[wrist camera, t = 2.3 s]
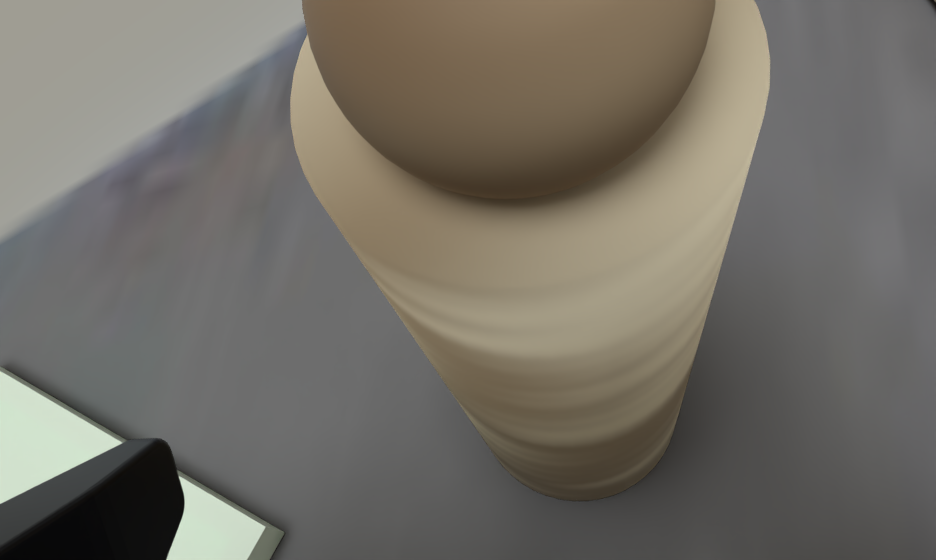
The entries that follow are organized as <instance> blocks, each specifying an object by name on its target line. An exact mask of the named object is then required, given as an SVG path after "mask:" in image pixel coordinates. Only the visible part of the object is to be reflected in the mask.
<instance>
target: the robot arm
mask: <svg viewBox="0 0 936 560" xmlns="http://www.w3.org/2000/svg"><path fill="white" fill-rule="evenodd" d="M184 507H185V499H184V492H183V489H182V486H181V482H180V479H179V475H178V472H177V468H176V465H175V461H174V458H173V454H172V451H171V449H170V446H169V445H168V443H167V442H166V441H164V440H162V439H159V438H151V439H132V440H128V441H126V442H124V443H122V444H120V445H118V446H116V447H114V448H112V449H110V450H108V451H106V452H104V453H102V454H100V455H98V456H96V457H94V458H92V459H90V460H88V461H85V462H83V463H81V464H79V465H77V466H75V467H73V468H71V469H69V470H67V471H65V472H63V473H61V474H59V475H57V476H55V477H53V478H51V479H49V480H47V481H45V482H43V483H41V484H39V485H37V486H35V487H33V488H31V489H29V490H27V491H25V492H23V493H21V494H19V495H17V496H15V497H13V498H11V499H9V500H7V501H5V502H3V503H1V504H0V560H166V559H167V557H168V554H169V551H170V549H171V546H172V543H173V541H174V538H175V536H176V533H177V530H178V528H179V525H180V522H181V520H182V517H183V513H184Z"/></svg>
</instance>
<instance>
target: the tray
mask: <svg viewBox="0 0 936 560" xmlns="http://www.w3.org/2000/svg"><path fill="white" fill-rule="evenodd" d="M126 441H127V440H126V439H124V438H122V437H120V436H119V435H117V434H115V433H114V432H112V431H110V430H109V429H107V428H105V427H103V426H102V425H100V424H98V423H97V422H95V421H93V420H91V419H90V418H88V417H86V416H85V415H83V414H81V413H79V412H78V411H76V410H74V409H73V408H71V407H69V406H67V405H66V404H64V403H62V402H61V401H59V400H57V399H56V398H54V397H52V396H50V395H49V394H47V393H45V392H44V391H42V390H40V389H38V388H37V387H35V386H33V385H32V384H30V383H28V382H26V381H25V380H23V379H21V378H20V377H18V376H16V375H14V374H13V373H11V372H9V371H8V370H6V369H4V368H3V367H0V504H1V503H3V502H5V501H7V500H9V499H11V498H13V497H15V496H17V495H19V494H21V493H23V492H25V491H27V490H29V489H31V488H33V487H35V486H37V485H39V484H41V483H43V482H45V481H47V480H49V479H51V478H53V477H55V476H57V475H59V474H61V473H63V472H65V471H67V470H69V469H71V468H73V467H75V466H77V465H79V464H81V463H83V462H85V461H88V460H90V459H92V458H94V457H96V456H98V455H100V454H102V453H104V452H106V451H108V450H110V449H112V448H114V447H116V446H118V445H120V444H122V443H124V442H126ZM177 472H178V475H179V479H180V482H181V486H182V489H183V492H184V499H185V507H184V513H183V517H182V520H181V522H180V525H179V528H178V530H177V533H176V536H175V538H174V541H173V543H172V546H171V549H170V551H169V554H168V557H167V559H166V560H270V558H271V557H272V555H273V553H274V551H275V549H276V548H277V546H278V544H279V542H280V540H281V539H282V537H283V535H284V533H285V532H283V531H281V530H279V529H278V528H276V527H274V526H273V525H271V524H269V523H268V522H266V521H264V520H262V519H261V518H259V517H257V516H256V515H254V514H252V513H250V512H249V511H247V510H245V509H244V508H242V507H240V506H238V505H237V504H235V503H233V502H232V501H230V500H228V499H226V498H225V497H223V496H221V495H220V494H218V493H216V492H215V491H213V490H211V489H209V488H208V487H206V486H204V485H203V484H201V483H199V482H197V481H196V480H194V479H192V478H191V477H189V476H187V475H185V474H184V473H182V472H180V471H179V470H177Z"/></svg>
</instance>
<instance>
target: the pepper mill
mask: <svg viewBox="0 0 936 560" xmlns="http://www.w3.org/2000/svg"><path fill="white" fill-rule="evenodd" d="M302 6H303V14H304V19H305V24H306V29H307V37H306V39H305V41H304V43H303V46H302V48H301V51H300V54H299V58H298V61H297V65H296V68H295V72H294V76H293V84H292V91H291V127H292V133H293V138H294V144H295V149H296V152H297V155H298V158H299V161H300V164H301V167H302V169H303V172H304V174H305V176H306V178H307V180H308V182H309V184H310V185H311V187H312V189H313V191H314V193H315V195H316V196H317V198H318V199H319V201H320V202H321V204H322V205H323V207H324V208H325V209H326V211H327V212H328V214H329V215H330V217H331V218H332V220H333V221H334V223H335V224H336V225H337V227H338V228H339V230H340V231H341V233H342V234H343V236H344V237H345V239H346V240H347V241H348V243H349V244H350V246H351V247H352V249H353V250H354V252H355V253H356V255H357V256H358V257H359V259H360V260H361V262H362V263H363V265H364V266H365V268H366V269H367V271H368V272H369V273H370V275H371V276H372V278H373V279H374V281H375V282H376V284H377V285H378V287H379V288H380V289H381V291H382V292H383V294H384V295H385V297H386V298H387V300H388V301H389V302H390V304H391V305H392V307H393V308H394V310H395V311H396V313H397V314H398V316H399V317H400V318H401V320H402V321H403V323H404V324H405V326H406V327H407V329H408V330H409V332H410V333H411V334H412V336H413V337H414V339H415V340H416V342H417V343H418V345H419V346H420V348H421V349H422V350H423V352H424V353H425V355H426V356H427V358H428V359H429V361H430V362H431V364H432V365H433V366H434V368H435V369H436V371H437V372H438V374H439V375H440V377H441V378H442V380H443V381H444V382H445V384H446V385H447V387H448V388H449V390H450V391H451V393H452V394H453V396H454V397H455V398H456V400H457V401H458V403H459V404H460V406H461V407H462V409H463V410H464V412H465V413H466V414H467V416H468V417H469V419H470V420H471V422H472V423H473V425H474V426H475V428H476V429H477V430H478V432H479V433H480V435H481V436H482V438H483V439H484V441H485V442H486V444H487V445H488V446H489V448H490V449H491V451H492V452H493V454H494V455H495V457H496V458H497V459H498V461H499V462H500V463H501V465H502V466H503V467H504V468H505V469H506V470H507V471H508V472H509V473H510V474H511V475H512V476H513V477H514V478H516V479H517V480H518V481H520V482H521V483H522V484H524V485H525V486H527V487H529V488H531V489H532V490H534V491H536V492H539V493H541V494H544V495H546V496H550V497H553V498H557V499H562V500H569V501H589V500H596V499H602V498H605V497H609V496H612V495H615V494H617V493H620V492H622V491H624V490H626V489H628V488H629V487H631V486H633V485H634V484H636V483H637V482H639V481H640V480H641V479H642V478H644V477H645V476H646V475H647V474H648V473H649V472H650V471H651V470H652V469H653V468H654V467H655V466H656V464H657V463H658V462H659V460H660V459H661V457H662V456H663V455H664V453H665V451H666V449H667V447H668V445H669V443H670V440H671V437H672V434H673V432H674V428H675V425H676V421H677V418H678V414H679V411H680V407H681V404H682V400H683V397H684V393H685V390H686V386H687V383H688V379H689V376H690V372H691V369H692V365H693V362H694V358H695V355H696V351H697V348H698V345H699V341H700V338H701V334H702V331H703V327H704V324H705V320H706V317H707V313H708V310H709V306H710V303H711V299H712V296H713V292H714V289H715V285H716V282H717V278H718V275H719V271H720V268H721V264H722V261H723V257H724V254H725V250H726V247H727V243H728V240H729V236H730V233H731V229H732V226H733V222H734V219H735V215H736V212H737V208H738V205H739V201H740V198H741V194H742V191H743V187H744V184H745V180H746V177H747V173H748V170H749V166H750V163H751V159H752V156H753V152H754V149H755V145H756V142H757V138H758V135H759V131H760V128H761V124H762V121H763V117H764V114H765V108H766V103H767V98H768V92H769V87H770V56H769V49H768V42H767V35H766V31H765V28H764V25H763V22H762V19H761V16H760V13H759V10H758V7H757V5H756V3H755V1H754V0H302Z"/></svg>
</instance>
